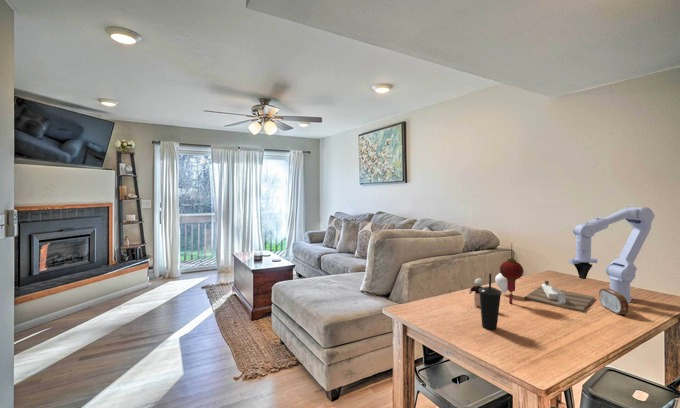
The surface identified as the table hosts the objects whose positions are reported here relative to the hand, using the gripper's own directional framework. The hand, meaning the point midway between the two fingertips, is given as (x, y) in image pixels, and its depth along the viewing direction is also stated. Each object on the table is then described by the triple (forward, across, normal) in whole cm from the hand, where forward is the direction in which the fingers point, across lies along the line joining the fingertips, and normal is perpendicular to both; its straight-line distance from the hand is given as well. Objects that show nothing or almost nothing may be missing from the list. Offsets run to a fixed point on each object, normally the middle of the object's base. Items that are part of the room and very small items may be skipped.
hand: (582, 278), depth 147 cm
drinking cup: (+10, +65, +19) cm, 69 cm away
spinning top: (+10, +32, -12) cm, 36 cm away
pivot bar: (+8, +13, -6) cm, 16 cm away
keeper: (+8, +17, +3) cm, 19 cm away
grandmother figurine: (+10, +56, 0) cm, 56 cm away
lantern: (+10, +39, -1) cm, 40 cm away
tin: (+10, +3, +15) cm, 18 cm away
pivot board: (+9, +11, -1) cm, 15 cm away
